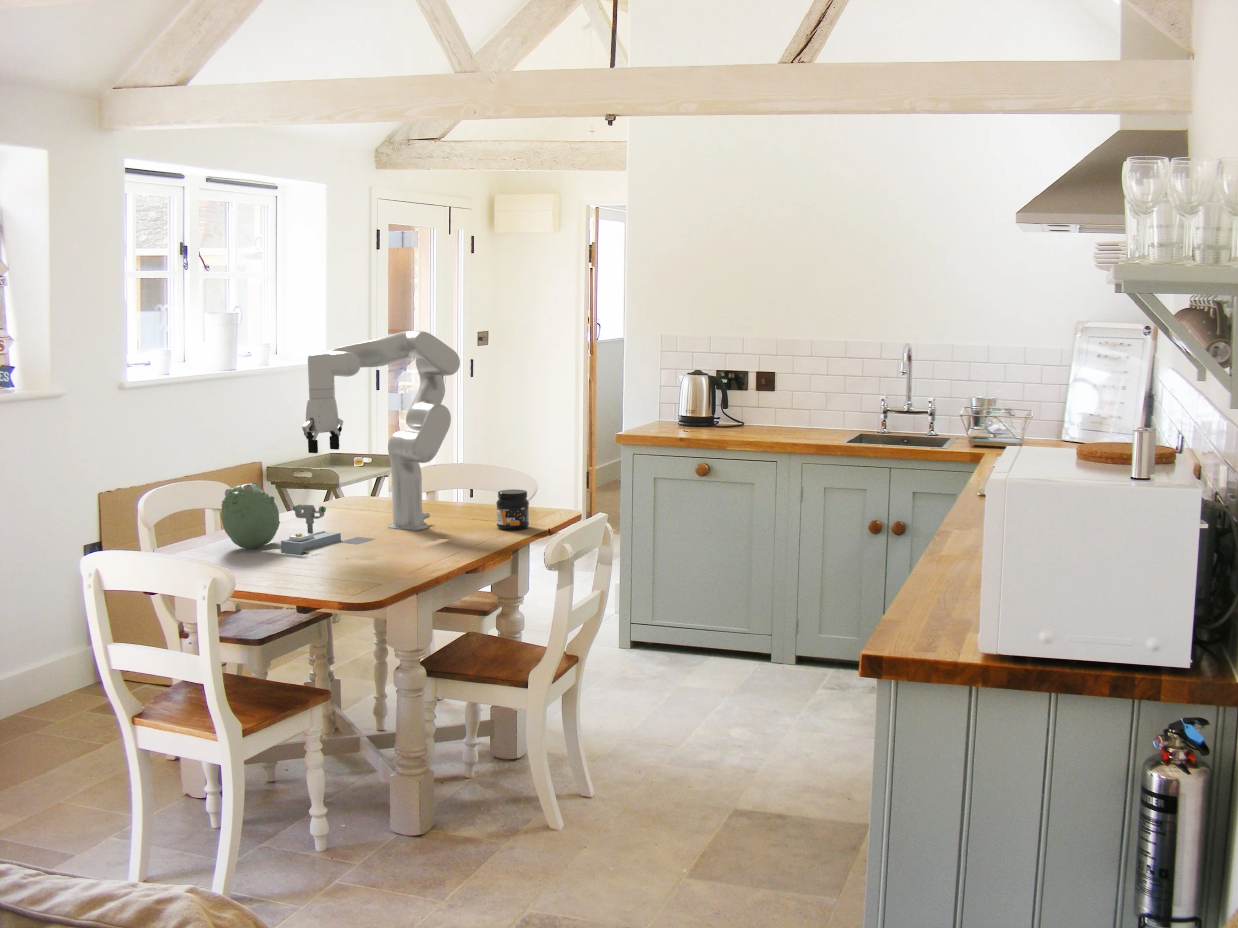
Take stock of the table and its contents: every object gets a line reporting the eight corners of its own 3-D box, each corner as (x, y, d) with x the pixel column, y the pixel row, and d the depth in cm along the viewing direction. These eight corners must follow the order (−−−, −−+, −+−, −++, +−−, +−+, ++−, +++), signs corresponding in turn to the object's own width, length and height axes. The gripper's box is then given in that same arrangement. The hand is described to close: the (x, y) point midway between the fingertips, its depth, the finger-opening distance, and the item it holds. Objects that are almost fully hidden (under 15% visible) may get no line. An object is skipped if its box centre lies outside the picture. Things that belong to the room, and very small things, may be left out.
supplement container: (492, 530, 385) (491, 493, 383) (502, 524, 395) (502, 488, 393) (523, 531, 382) (522, 494, 381) (533, 525, 392) (533, 489, 391)
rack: (322, 541, 365) (322, 530, 365) (342, 544, 362) (341, 532, 362) (281, 552, 350) (280, 540, 349) (301, 555, 346) (301, 543, 346)
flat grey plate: (357, 540, 368) (357, 536, 367) (375, 542, 364) (375, 538, 364) (338, 545, 360) (338, 542, 359) (357, 548, 356) (356, 544, 356)
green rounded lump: (291, 543, 363) (289, 478, 360) (259, 556, 345) (256, 487, 342) (245, 541, 367) (242, 476, 364) (210, 553, 348) (207, 485, 346)
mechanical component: (323, 538, 370) (322, 507, 369) (292, 537, 372) (291, 505, 371) (327, 537, 373) (326, 505, 372) (297, 535, 375) (296, 504, 374)
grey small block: (303, 542, 355) (303, 530, 355) (314, 543, 353) (313, 532, 353) (289, 545, 350) (289, 534, 349) (300, 547, 348) (299, 535, 348)
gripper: (331, 392, 368) (333, 447, 370) (292, 396, 352) (294, 453, 355) (350, 392, 364) (352, 448, 367) (312, 397, 349) (314, 455, 351)
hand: (324, 451), depth 361 cm, fingers open, 9 cm apart
